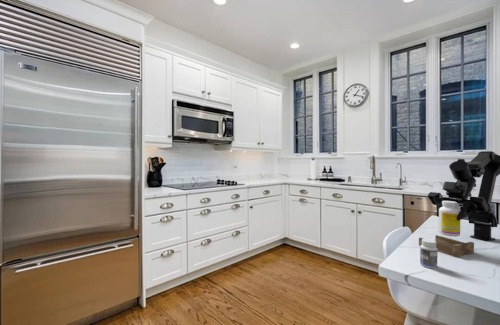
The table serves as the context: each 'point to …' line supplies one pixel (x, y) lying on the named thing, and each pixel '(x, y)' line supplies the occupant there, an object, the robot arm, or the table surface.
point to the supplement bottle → (449, 219)
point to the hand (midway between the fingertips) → (447, 217)
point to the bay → (452, 246)
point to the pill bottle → (428, 253)
